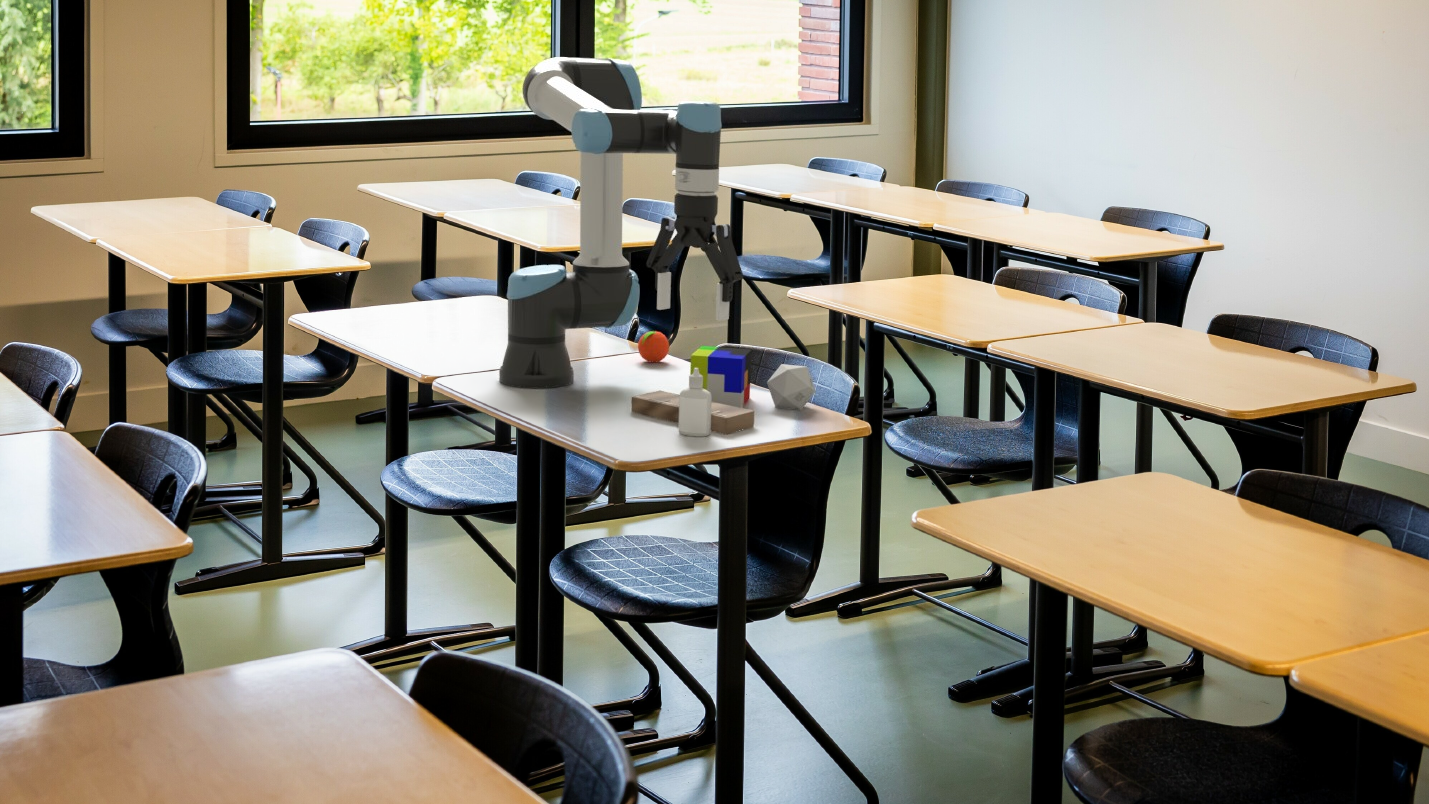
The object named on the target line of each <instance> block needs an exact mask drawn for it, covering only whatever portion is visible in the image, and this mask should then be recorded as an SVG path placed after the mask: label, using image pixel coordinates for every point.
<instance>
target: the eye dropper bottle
mask: <svg viewBox="0 0 1429 804" xmlns="http://www.w3.org/2000/svg"><path fill="white" fill-rule="evenodd" d="M688 380H689V381H688V387H687V388H684V389H682V390H681V391H680V392H679V395H680V396H679V423H678V434H680V435H683V436H688V437H694V438H696V437H697V438H699V437H700V438H704V437H708V436H709V435H710V434H711V432H712V431H711V399H712V397H711V393H710V392H709V391H707V390H705V389H703V388H702V387H703V376H702V375H700V374H699V369H698V368H694V372H693V374H692V375H690V374H689V376H688Z"/></svg>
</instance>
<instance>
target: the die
mask: <svg viewBox="0 0 1429 804" xmlns="http://www.w3.org/2000/svg"><path fill="white" fill-rule="evenodd" d="M766 384H767V386H768V387H767V388H768V391H769V393H770V396H771V399H772V401H773V405H774V407H775V408H779V409H790V410H799V411H800V410H801V411H802V410H803V409H804V407H805V406H807V403H808V402H809V401H810V400H811V398H812V397H813V396H814V395H815V393H816V392H817V391H816V387H815V384H814V382H813V379H812V375H811V373H810V369H809V367H808V366H804V365H793V364H786V363H780V365H779V366H778V368H777V369H776V370H775V371H774V372H773V374H772V375H771V377H770V378H769V379H768V381H766Z"/></svg>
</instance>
